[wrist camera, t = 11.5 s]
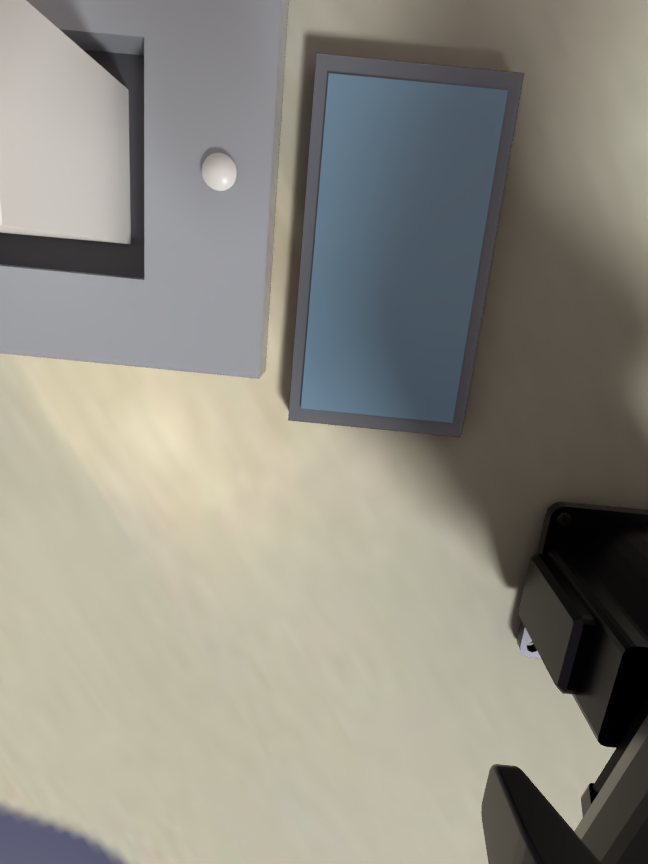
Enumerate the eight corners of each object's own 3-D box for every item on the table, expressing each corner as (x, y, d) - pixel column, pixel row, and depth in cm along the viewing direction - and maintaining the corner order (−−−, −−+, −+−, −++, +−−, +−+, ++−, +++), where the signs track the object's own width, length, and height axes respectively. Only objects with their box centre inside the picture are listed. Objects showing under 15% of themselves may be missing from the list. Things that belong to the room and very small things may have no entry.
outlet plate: (290, -39, 15) (284, -76, 14) (265, 370, 19) (258, 379, 17) (-190, -85, 16) (-252, -127, 14) (-129, 332, 19) (-174, 337, 17)
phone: (515, 82, 16) (525, 71, 15) (456, 430, 19) (461, 438, 18) (317, 63, 16) (316, 51, 15) (290, 414, 19) (287, 421, 18)
